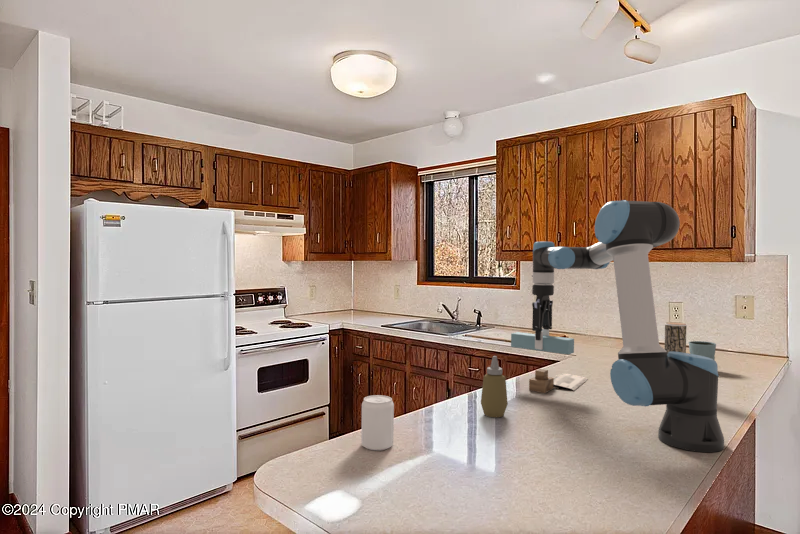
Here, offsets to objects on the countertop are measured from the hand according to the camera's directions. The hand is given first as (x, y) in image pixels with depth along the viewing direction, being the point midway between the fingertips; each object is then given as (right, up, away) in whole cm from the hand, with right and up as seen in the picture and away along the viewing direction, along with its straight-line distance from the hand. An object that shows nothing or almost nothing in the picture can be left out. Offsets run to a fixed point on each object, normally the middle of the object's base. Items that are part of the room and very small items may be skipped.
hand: (542, 347), depth 190 cm
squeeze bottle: (-23, -16, -31) cm, 42 cm away
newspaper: (+11, -16, +10) cm, 22 cm away
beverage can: (-57, -16, -58) cm, 83 cm away
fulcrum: (0, -15, 0) cm, 15 cm away
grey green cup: (+79, -15, +36) cm, 88 cm away
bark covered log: (+47, -16, -3) cm, 49 cm away
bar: (0, -1, 0) cm, 1 cm away
